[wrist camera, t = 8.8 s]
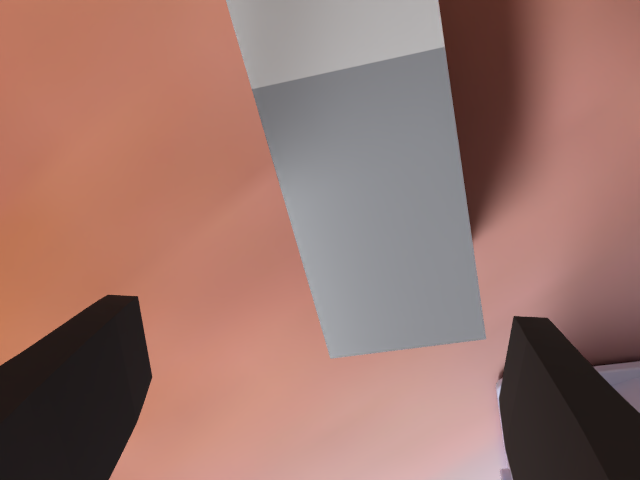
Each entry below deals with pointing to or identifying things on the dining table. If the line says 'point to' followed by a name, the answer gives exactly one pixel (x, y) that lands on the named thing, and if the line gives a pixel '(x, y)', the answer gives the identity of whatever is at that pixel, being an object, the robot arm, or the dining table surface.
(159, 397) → the dining table surface
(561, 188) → the dining table surface
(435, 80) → the box
